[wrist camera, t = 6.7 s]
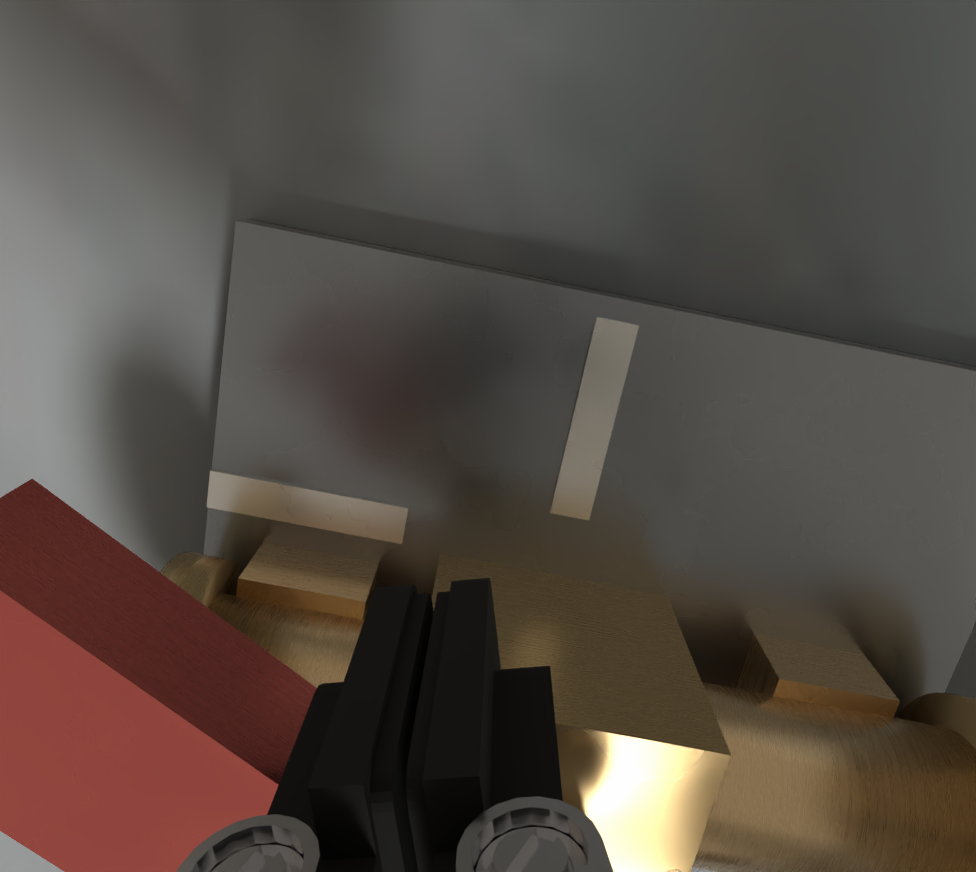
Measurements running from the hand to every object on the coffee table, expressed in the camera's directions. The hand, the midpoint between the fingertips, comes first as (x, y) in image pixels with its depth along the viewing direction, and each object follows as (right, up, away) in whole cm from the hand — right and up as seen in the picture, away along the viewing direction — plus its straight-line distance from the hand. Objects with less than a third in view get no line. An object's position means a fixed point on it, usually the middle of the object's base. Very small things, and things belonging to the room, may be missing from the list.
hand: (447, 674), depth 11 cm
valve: (+3, 0, +10) cm, 10 cm away
